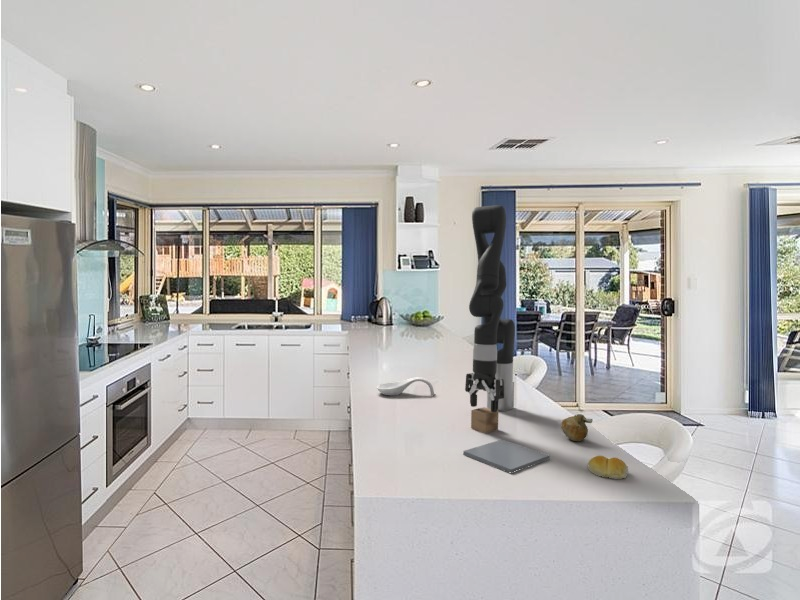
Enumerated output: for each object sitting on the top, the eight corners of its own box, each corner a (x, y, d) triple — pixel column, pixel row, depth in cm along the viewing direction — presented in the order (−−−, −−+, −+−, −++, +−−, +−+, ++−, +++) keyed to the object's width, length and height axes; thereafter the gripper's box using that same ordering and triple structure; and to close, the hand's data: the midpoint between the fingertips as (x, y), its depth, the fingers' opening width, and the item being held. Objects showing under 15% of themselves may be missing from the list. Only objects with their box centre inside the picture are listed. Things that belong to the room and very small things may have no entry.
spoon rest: (376, 398, 193) (376, 380, 193) (377, 391, 205) (377, 374, 204) (435, 398, 193) (435, 380, 193) (432, 391, 205) (432, 375, 205)
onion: (575, 434, 149) (575, 408, 148) (594, 442, 141) (595, 415, 141) (555, 436, 146) (555, 410, 146) (573, 445, 138) (574, 417, 138)
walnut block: (483, 425, 157) (484, 407, 157) (498, 429, 152) (498, 411, 152) (471, 428, 153) (471, 410, 153) (485, 433, 149) (485, 414, 148)
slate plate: (501, 442, 140) (502, 439, 140) (549, 459, 127) (549, 455, 127) (463, 454, 130) (463, 450, 130) (510, 473, 117) (510, 469, 117)
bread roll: (591, 464, 124) (591, 449, 124) (629, 472, 120) (629, 456, 119) (584, 474, 118) (585, 458, 117) (624, 483, 113) (625, 466, 113)
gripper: (510, 360, 149) (509, 412, 149) (476, 354, 160) (475, 403, 160) (494, 361, 144) (492, 415, 144) (460, 356, 155) (459, 406, 156)
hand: (483, 409), depth 152 cm, fingers open, 8 cm apart
